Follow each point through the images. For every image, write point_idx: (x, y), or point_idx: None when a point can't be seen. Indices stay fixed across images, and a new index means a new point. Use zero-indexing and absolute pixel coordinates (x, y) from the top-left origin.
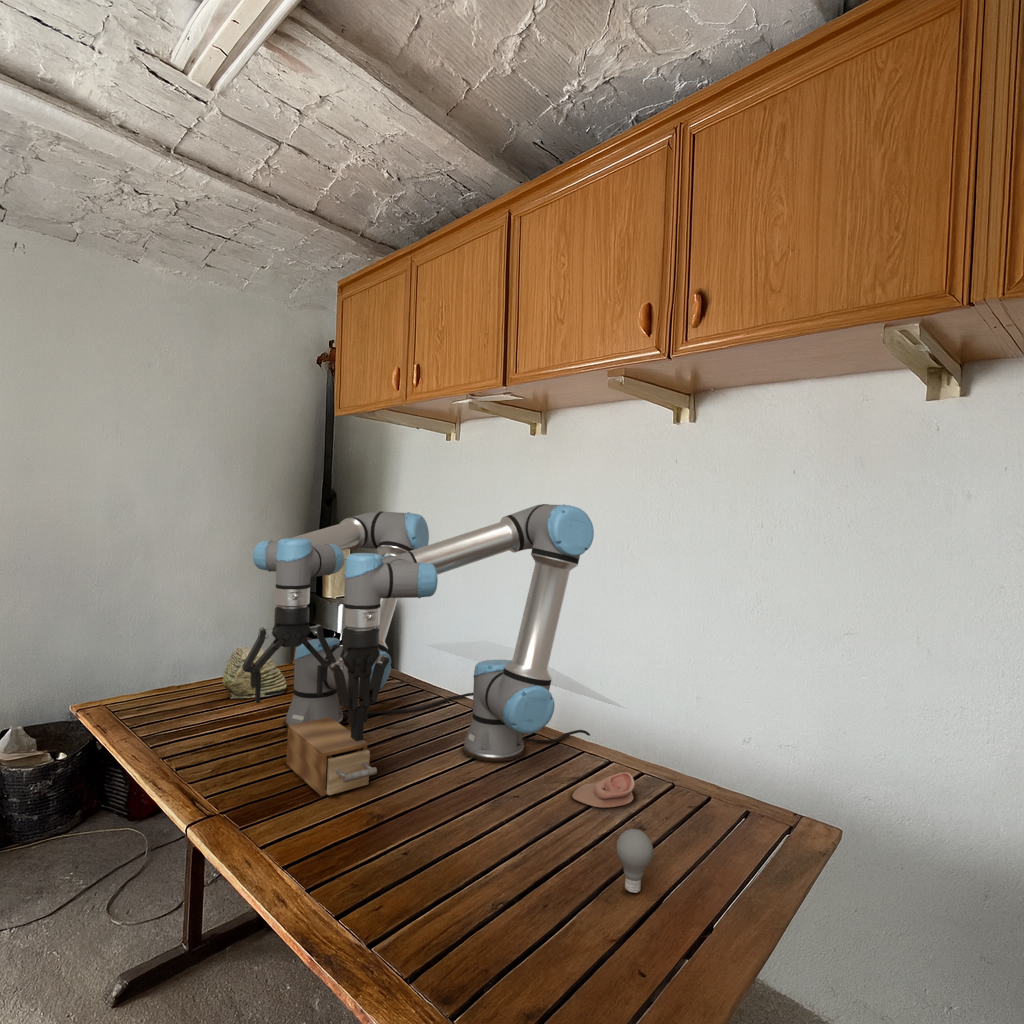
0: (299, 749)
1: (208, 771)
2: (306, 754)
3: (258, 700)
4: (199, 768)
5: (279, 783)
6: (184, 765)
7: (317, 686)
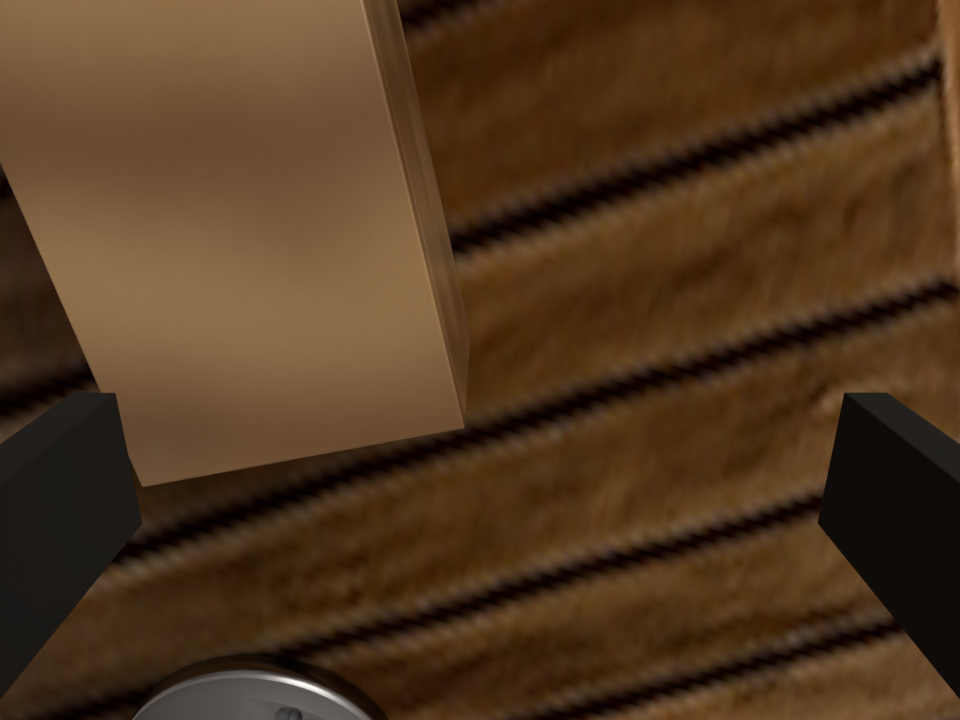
0: (418, 174)
1: (839, 392)
2: (385, 33)
3: (883, 404)
4: None
5: (546, 95)
6: None
7: (83, 542)
